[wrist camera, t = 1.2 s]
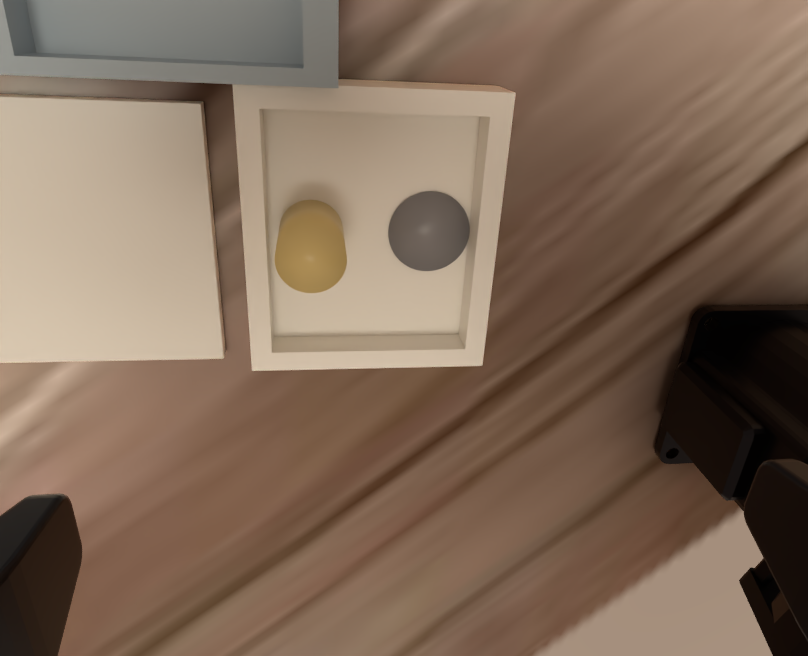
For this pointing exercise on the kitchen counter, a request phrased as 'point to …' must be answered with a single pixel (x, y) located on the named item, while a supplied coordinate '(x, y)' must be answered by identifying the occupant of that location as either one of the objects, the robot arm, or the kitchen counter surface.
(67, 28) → the socket board
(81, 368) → the kitchen counter surface
